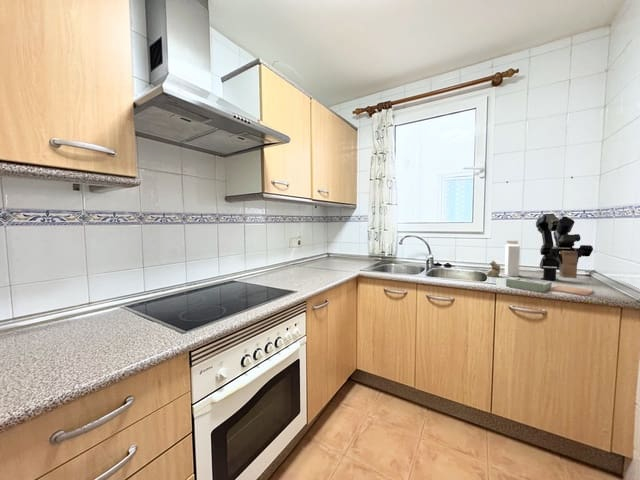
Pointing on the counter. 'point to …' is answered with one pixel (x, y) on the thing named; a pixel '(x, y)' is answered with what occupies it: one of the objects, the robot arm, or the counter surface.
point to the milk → (512, 258)
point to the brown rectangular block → (568, 264)
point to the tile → (572, 290)
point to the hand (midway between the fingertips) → (569, 263)
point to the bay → (528, 285)
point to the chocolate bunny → (493, 270)
